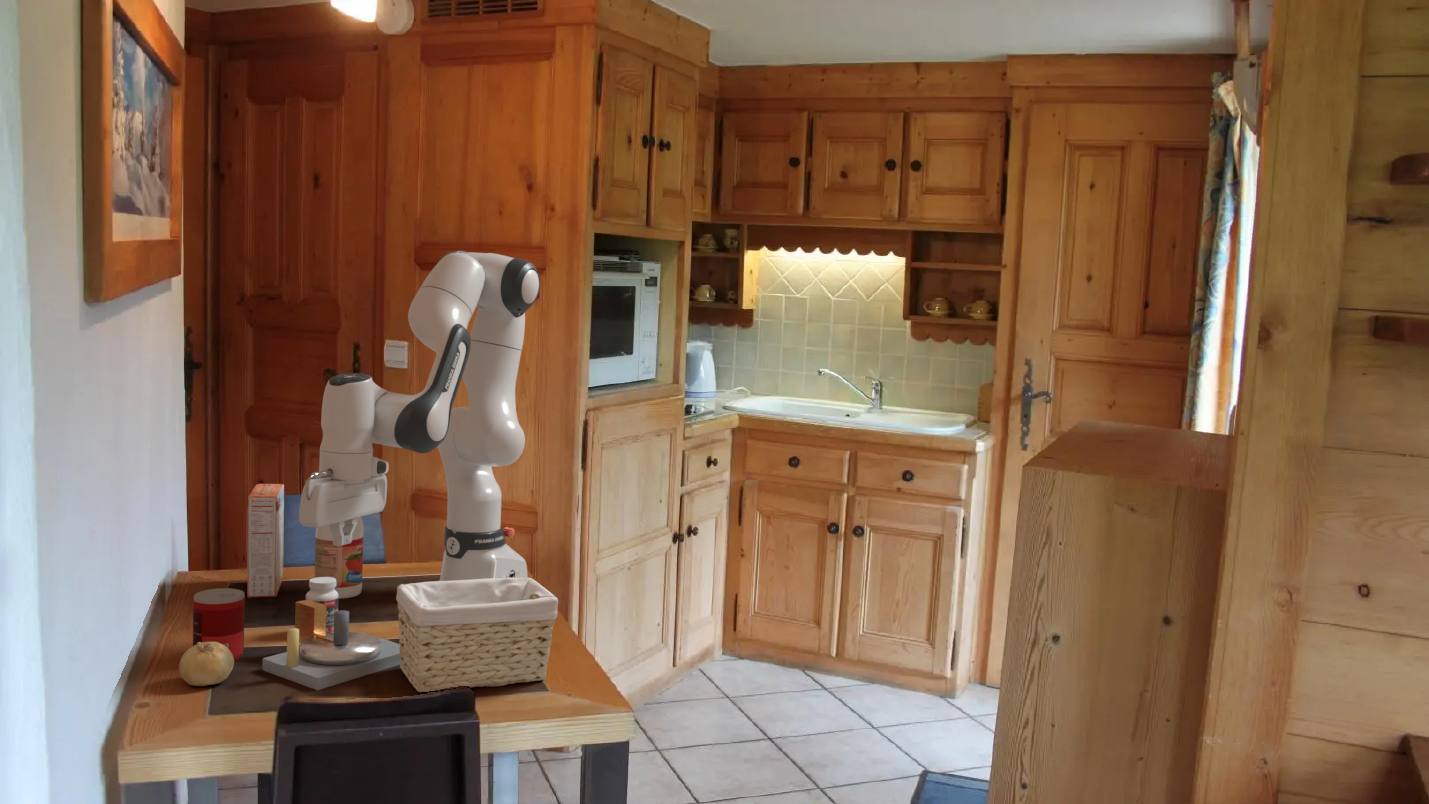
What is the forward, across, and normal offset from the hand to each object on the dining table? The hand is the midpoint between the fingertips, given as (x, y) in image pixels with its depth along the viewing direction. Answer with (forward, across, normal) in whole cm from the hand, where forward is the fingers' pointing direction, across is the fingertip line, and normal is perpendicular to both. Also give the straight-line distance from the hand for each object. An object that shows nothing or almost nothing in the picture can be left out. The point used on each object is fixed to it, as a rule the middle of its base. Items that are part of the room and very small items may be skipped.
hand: (342, 544), depth 198 cm
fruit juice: (+18, +28, +21) cm, 40 cm away
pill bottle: (+19, +5, +7) cm, 21 cm away
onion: (+19, -24, +7) cm, 31 cm away
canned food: (+19, -14, +14) cm, 27 cm away
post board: (+18, -8, -6) cm, 21 cm away
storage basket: (+18, -2, -28) cm, 34 cm away
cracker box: (+18, +24, +35) cm, 47 cm away
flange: (+16, -7, -4) cm, 18 cm away
